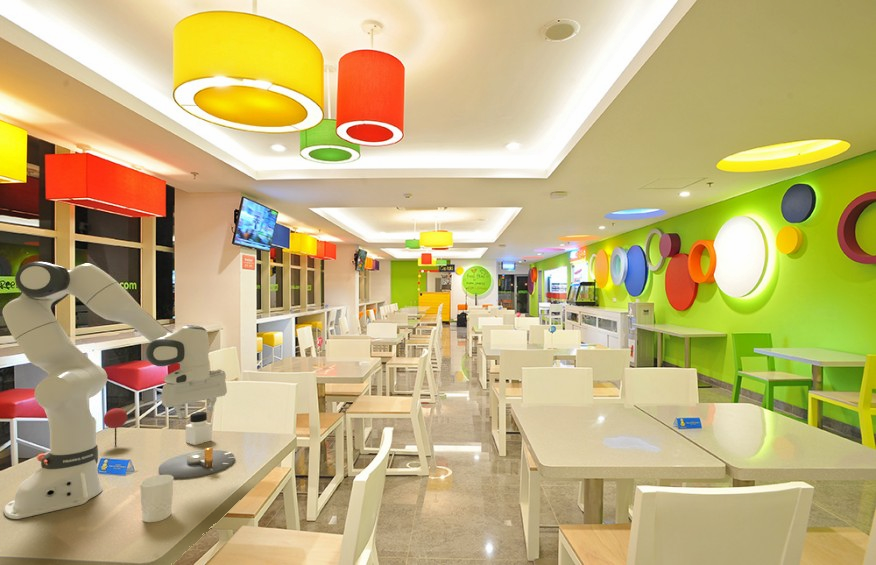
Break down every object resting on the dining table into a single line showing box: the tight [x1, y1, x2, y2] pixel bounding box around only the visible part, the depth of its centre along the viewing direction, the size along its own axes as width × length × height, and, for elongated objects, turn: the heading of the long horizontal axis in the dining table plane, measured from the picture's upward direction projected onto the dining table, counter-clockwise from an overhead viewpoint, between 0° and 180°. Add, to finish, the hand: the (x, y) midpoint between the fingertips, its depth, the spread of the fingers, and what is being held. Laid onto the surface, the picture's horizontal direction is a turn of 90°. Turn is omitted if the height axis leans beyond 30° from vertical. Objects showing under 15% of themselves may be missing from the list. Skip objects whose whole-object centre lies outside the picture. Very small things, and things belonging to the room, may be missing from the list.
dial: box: [187, 447, 214, 468], centre depth 164 cm, size 14×7×6 cm, turn 49°
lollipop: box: [103, 407, 128, 447], centre depth 188 cm, size 8×8×15 cm
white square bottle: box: [185, 410, 212, 446], centre depth 193 cm, size 7×7×12 cm
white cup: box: [139, 474, 174, 523], centre depth 129 cm, size 8×8×10 cm
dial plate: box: [158, 449, 235, 480], centre depth 166 cm, size 24×24×1 cm
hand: (196, 414), depth 157 cm, fingers open, 8 cm apart
